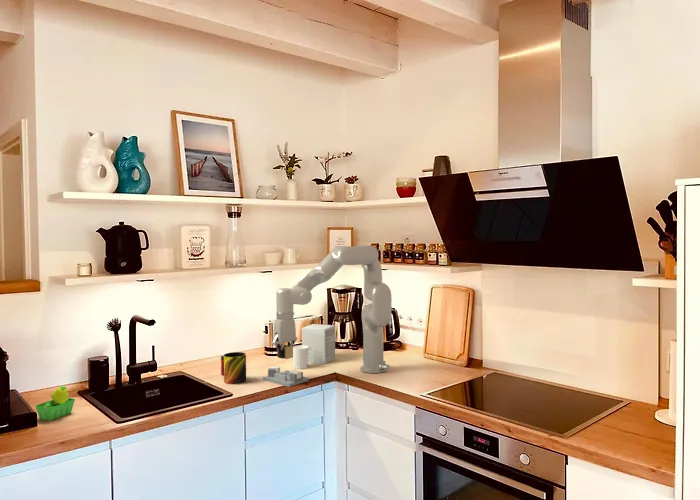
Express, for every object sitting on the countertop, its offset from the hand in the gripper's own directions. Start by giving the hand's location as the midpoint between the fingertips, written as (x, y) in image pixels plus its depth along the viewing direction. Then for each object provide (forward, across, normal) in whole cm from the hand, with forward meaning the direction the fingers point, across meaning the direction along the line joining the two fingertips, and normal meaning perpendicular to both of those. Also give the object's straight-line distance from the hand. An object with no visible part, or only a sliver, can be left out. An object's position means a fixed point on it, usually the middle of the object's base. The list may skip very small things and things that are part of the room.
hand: (285, 356), depth 237 cm
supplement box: (+11, -36, -14) cm, 40 cm away
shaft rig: (+11, 0, 0) cm, 11 cm away
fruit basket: (+12, +84, -31) cm, 90 cm away
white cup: (+11, -20, -11) cm, 25 cm away
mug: (+11, +16, -18) cm, 27 cm away
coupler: (0, 0, 0) cm, 0 cm away
